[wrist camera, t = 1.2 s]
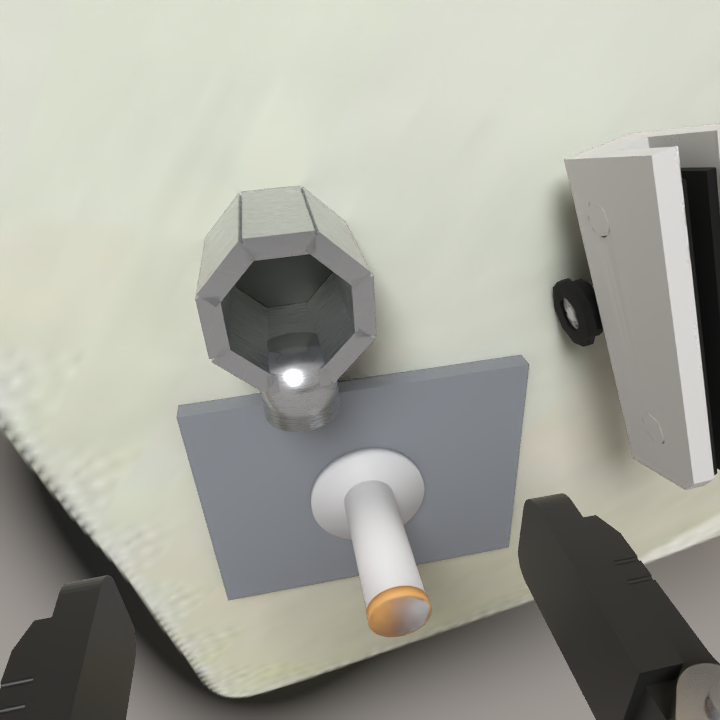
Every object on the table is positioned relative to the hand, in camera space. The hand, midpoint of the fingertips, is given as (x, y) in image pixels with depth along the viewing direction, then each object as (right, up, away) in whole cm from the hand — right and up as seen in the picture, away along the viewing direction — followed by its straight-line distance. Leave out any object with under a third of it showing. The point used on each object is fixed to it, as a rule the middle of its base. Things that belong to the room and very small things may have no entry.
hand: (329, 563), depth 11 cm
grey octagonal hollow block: (-3, +9, +14) cm, 17 cm away
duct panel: (+1, -3, +22) cm, 22 cm away
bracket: (+10, +13, +11) cm, 20 cm away
